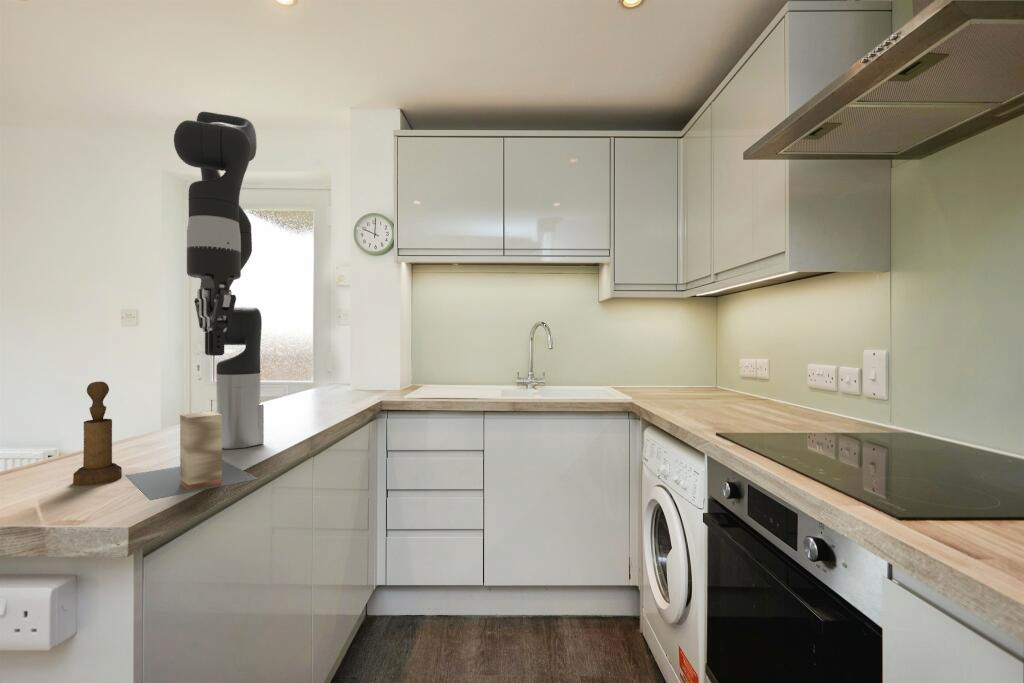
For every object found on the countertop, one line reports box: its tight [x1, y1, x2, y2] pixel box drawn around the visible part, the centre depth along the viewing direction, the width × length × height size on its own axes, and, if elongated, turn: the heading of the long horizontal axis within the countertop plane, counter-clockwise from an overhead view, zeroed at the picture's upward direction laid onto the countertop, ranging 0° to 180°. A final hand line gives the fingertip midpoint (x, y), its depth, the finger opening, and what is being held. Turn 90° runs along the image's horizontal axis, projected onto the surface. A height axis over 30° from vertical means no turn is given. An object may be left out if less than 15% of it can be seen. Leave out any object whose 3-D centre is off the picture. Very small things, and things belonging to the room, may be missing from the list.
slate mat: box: [125, 459, 259, 501], centre depth 89 cm, size 16×20×1 cm
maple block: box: [179, 411, 223, 490], centre depth 85 cm, size 5×5×12 cm
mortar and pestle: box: [72, 381, 123, 487], centre depth 87 cm, size 7×6×18 cm
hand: (214, 355), depth 80 cm, fingers closed
